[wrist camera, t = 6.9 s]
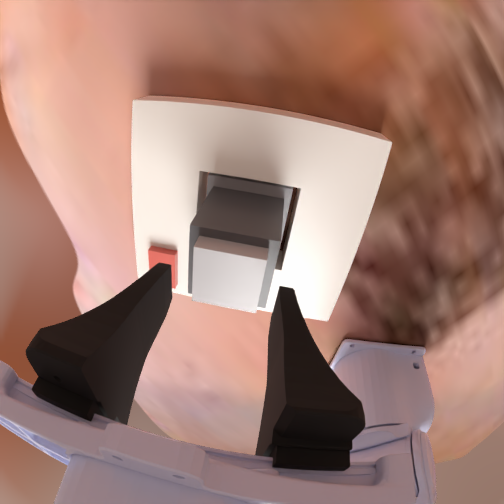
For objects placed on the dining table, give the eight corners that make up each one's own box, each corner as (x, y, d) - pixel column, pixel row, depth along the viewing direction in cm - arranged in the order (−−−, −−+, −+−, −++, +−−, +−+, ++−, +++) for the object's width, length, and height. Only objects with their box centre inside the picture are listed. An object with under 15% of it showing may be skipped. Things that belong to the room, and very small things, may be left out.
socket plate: (381, 133, 17) (395, 145, 15) (326, 300, 25) (328, 326, 23) (149, 95, 18) (127, 101, 15) (149, 266, 25) (135, 289, 23)
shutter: (292, 186, 19) (292, 189, 18) (277, 255, 22) (277, 259, 21) (209, 172, 19) (207, 174, 18) (204, 241, 22) (202, 245, 21)
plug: (284, 198, 19) (280, 253, 14) (271, 257, 21) (263, 321, 16) (213, 186, 19) (183, 235, 14) (208, 245, 21) (182, 305, 16)
